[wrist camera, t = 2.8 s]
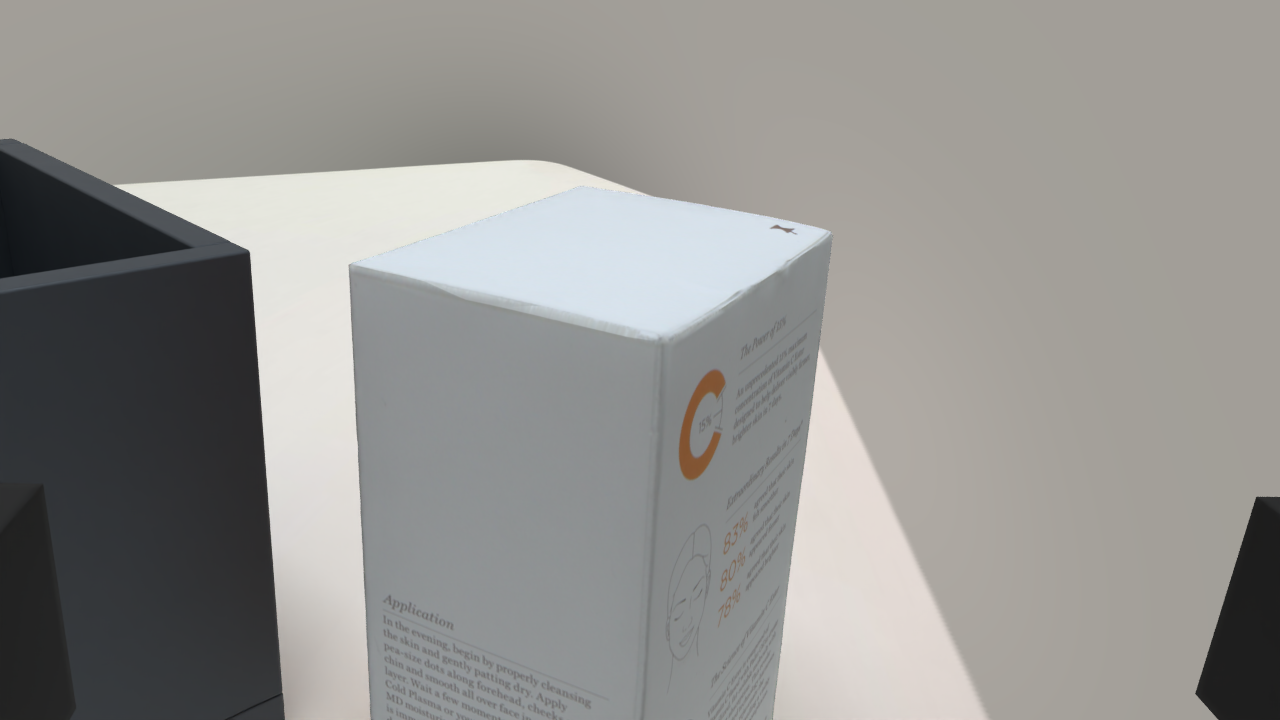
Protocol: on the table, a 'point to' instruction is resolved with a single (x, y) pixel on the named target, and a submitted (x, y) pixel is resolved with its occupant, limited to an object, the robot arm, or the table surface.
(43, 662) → the robot arm
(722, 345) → the small box
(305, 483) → the table surface
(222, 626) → the dark grey square bin
